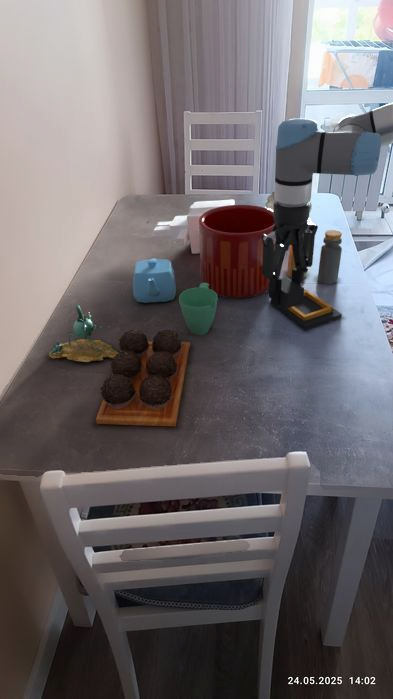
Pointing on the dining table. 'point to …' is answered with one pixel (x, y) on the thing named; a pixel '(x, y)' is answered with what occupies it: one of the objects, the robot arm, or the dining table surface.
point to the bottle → (330, 257)
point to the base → (310, 311)
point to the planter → (234, 249)
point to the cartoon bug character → (83, 343)
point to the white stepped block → (188, 224)
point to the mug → (198, 308)
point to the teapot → (154, 281)
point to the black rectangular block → (290, 293)
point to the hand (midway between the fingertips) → (285, 298)
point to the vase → (291, 262)
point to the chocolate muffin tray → (145, 380)
